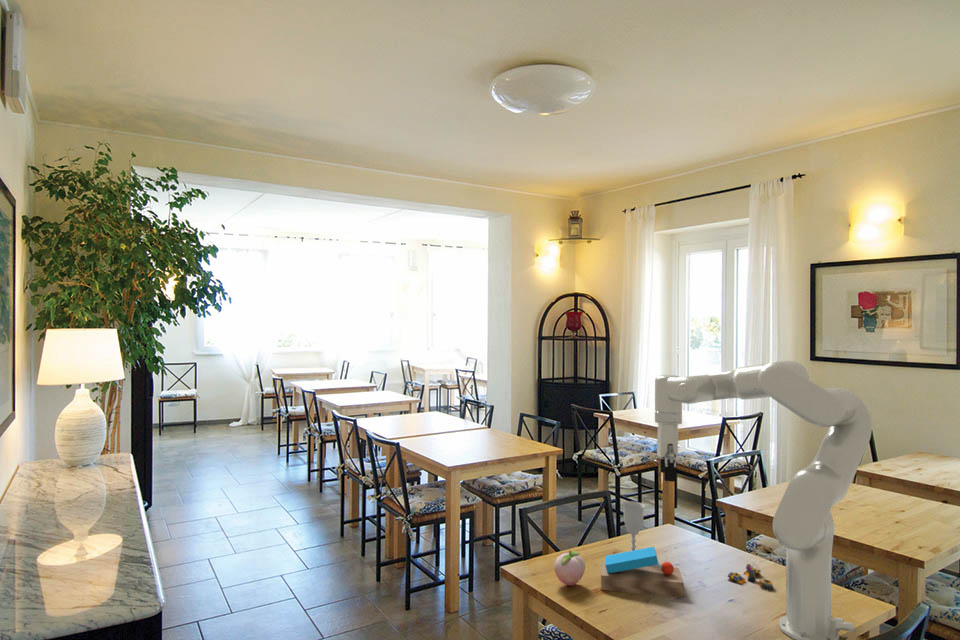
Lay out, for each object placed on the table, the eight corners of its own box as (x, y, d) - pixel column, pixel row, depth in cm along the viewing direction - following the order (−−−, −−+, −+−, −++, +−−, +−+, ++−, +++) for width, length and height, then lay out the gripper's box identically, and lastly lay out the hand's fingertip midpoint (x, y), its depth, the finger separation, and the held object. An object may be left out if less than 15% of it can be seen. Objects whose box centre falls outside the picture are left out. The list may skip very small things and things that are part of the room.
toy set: (754, 596, 159) (754, 579, 159) (723, 579, 169) (723, 563, 170) (786, 590, 163) (786, 573, 163) (753, 573, 174) (753, 557, 174)
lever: (612, 589, 162) (676, 578, 158) (605, 565, 163) (669, 553, 159) (611, 579, 169) (673, 568, 165) (605, 555, 169) (666, 544, 166)
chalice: (617, 559, 182) (617, 502, 182) (634, 556, 185) (634, 500, 185) (632, 568, 175) (632, 509, 176) (649, 565, 178) (650, 506, 179)
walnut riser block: (678, 581, 167) (678, 567, 167) (683, 597, 157) (683, 582, 157) (600, 574, 171) (600, 561, 171) (601, 589, 161) (601, 575, 161)
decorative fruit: (561, 576, 170) (562, 542, 170) (588, 582, 165) (588, 548, 166) (548, 588, 162) (549, 552, 162) (576, 595, 157) (576, 559, 157)
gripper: (652, 413, 177) (651, 468, 176) (657, 421, 160) (657, 483, 159) (677, 413, 175) (677, 470, 175) (686, 422, 158) (686, 485, 158)
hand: (668, 476), depth 167 cm, fingers open, 9 cm apart
